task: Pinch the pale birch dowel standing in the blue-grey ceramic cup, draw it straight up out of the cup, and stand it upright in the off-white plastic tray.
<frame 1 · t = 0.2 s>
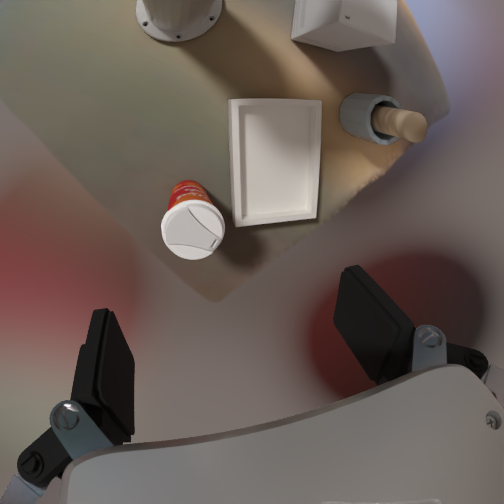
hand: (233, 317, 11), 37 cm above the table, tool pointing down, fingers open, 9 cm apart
supplement box: (317, 24, 36), on the table
cup: (358, 114, 45), on the table
tray: (272, 158, 46), on the table
dowel: (361, 115, 44), point 1 cm above the table, touching cup
paper cup: (187, 196, 46), on the table
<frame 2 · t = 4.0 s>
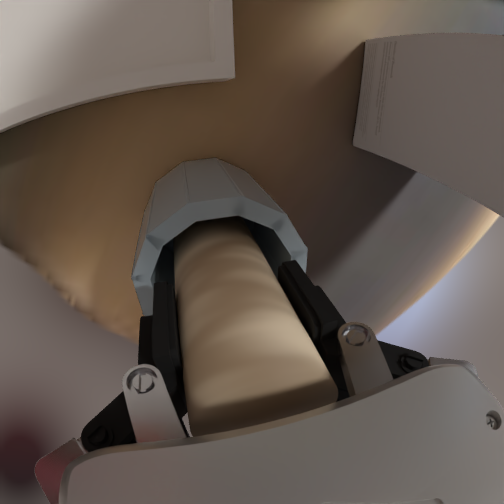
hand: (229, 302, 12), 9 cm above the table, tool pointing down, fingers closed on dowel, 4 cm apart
supplement box: (399, 104, 19), on the table
cup: (204, 216, 20), on the table
tray: (67, 12, 10), on the table
dowel: (206, 222, 19), point 1 cm above the table, touching cup, gripper
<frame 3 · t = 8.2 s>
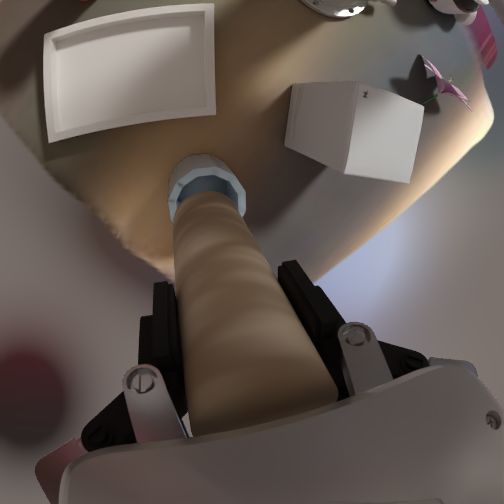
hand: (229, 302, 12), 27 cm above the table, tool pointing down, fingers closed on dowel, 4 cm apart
supplement box: (317, 120, 36), on the table
lily: (427, 83, 36), on the table
cup: (200, 184, 37), on the table
tray: (127, 69, 27), on the table
dowel: (206, 222, 19), point 19 cm above the table, touching gripper
when the fingers open (10 cm above the table, at t = 12.7 s): dowel stays where it is, resting on tray.
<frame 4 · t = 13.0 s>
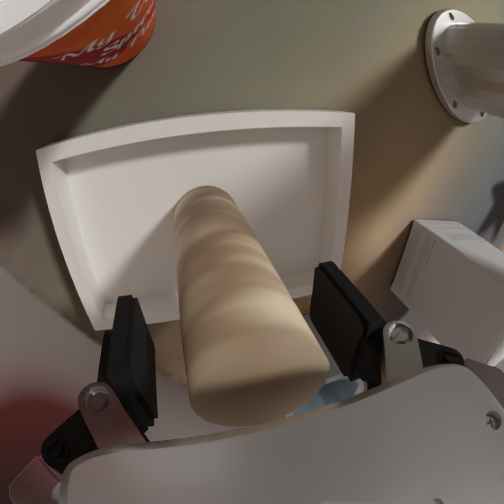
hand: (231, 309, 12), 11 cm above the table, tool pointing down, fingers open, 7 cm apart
supplement box: (424, 253, 30), on the table
cup: (296, 342, 30), on the table
tray: (203, 211, 21), on the table
dowel: (205, 216, 20), point 1 cm above the table, touching tray
paper cup: (114, 29, 13), on the table
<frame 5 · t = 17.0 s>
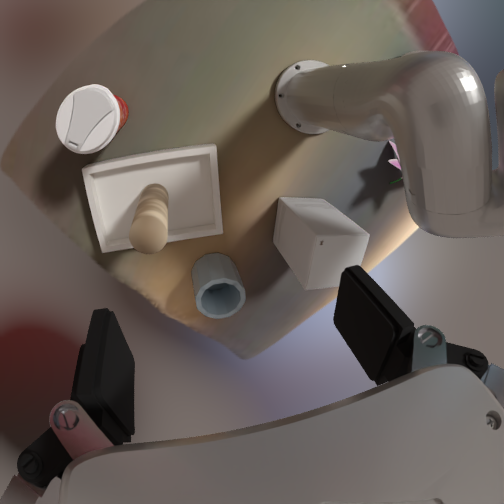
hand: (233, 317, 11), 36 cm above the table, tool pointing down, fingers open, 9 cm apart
supplement box: (297, 220, 53), on the table
lily: (395, 163, 52), on the table
cup: (213, 272, 53), on the table
tray: (154, 195, 44), on the table
dowel: (154, 197, 43), point 1 cm above the table, touching tray
paper cup: (111, 113, 36), on the table
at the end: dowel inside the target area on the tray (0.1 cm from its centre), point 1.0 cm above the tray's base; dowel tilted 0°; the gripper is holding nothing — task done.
